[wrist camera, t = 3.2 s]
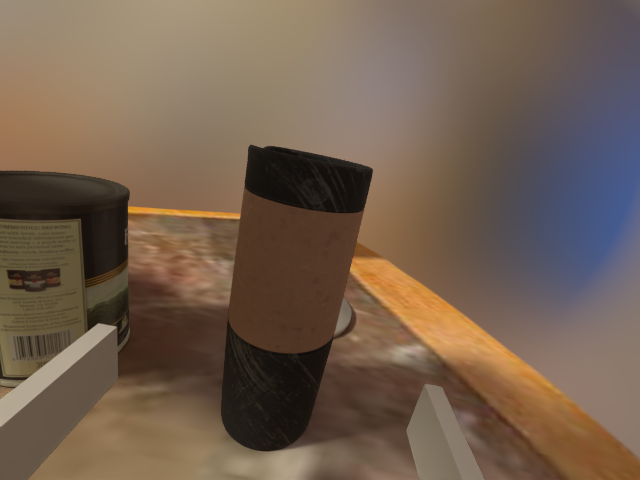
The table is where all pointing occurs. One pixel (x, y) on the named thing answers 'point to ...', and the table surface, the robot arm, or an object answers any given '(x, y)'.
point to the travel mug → (287, 289)
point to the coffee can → (59, 265)
